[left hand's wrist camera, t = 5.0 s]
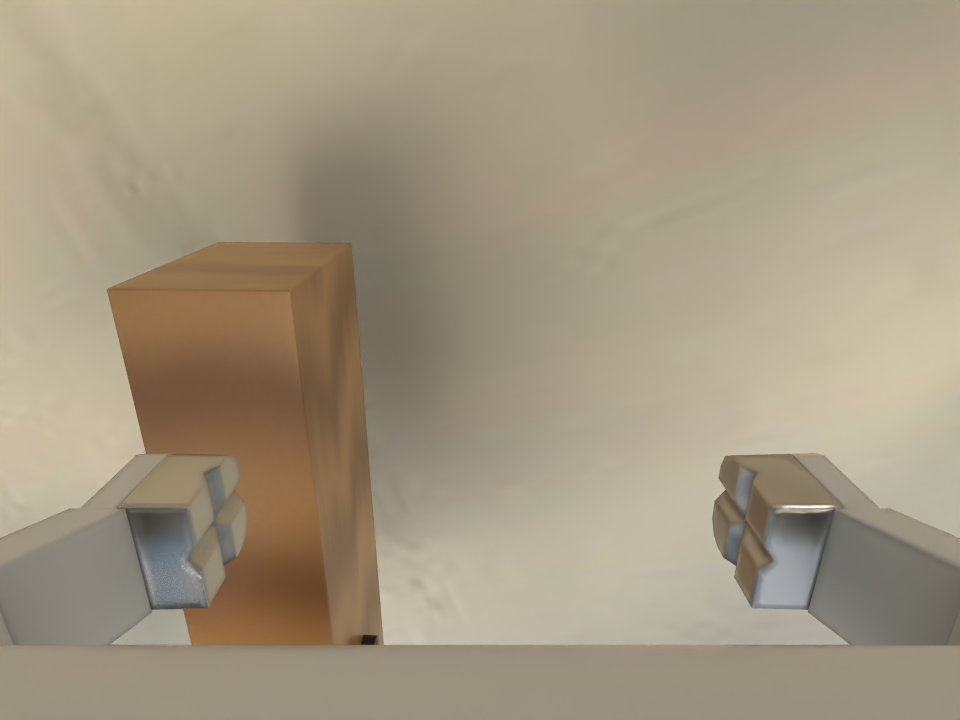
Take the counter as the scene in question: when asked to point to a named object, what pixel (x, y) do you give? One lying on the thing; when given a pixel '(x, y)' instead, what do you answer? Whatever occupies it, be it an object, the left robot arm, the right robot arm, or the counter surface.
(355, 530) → the bar
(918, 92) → the counter surface
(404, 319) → the counter surface
